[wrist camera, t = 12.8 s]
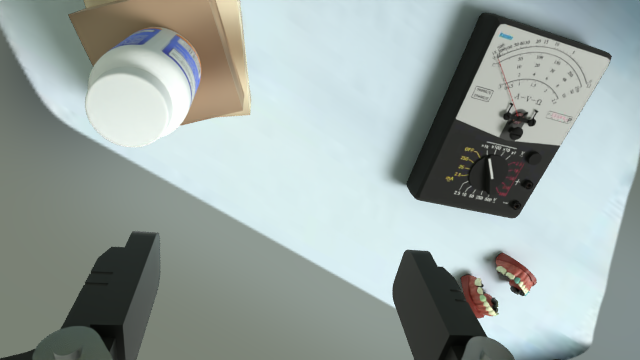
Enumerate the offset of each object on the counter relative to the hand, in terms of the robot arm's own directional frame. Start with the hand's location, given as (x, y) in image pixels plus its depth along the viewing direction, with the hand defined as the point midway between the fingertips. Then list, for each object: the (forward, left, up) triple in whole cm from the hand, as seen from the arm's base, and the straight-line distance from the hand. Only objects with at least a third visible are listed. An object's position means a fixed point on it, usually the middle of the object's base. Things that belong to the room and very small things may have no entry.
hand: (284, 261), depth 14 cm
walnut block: (0, -8, -24) cm, 25 cm away
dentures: (+25, +32, -29) cm, 50 cm away
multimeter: (+4, +24, -29) cm, 38 cm away
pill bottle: (-1, -8, -20) cm, 22 cm away
